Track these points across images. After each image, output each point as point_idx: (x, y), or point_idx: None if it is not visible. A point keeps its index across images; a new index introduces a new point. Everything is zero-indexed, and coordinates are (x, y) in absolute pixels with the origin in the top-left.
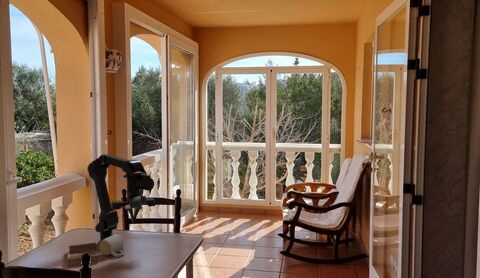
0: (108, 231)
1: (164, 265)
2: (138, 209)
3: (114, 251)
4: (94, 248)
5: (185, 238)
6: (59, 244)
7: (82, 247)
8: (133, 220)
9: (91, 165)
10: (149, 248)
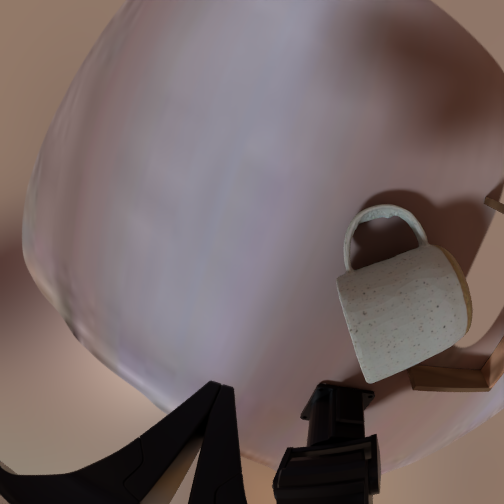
0: (339, 439)
1: None
2: (44, 502)
3: (402, 253)
4: (416, 368)
5: (48, 258)
6: (442, 434)
7: (455, 379)
8: (219, 404)
9: None
10: (186, 232)
